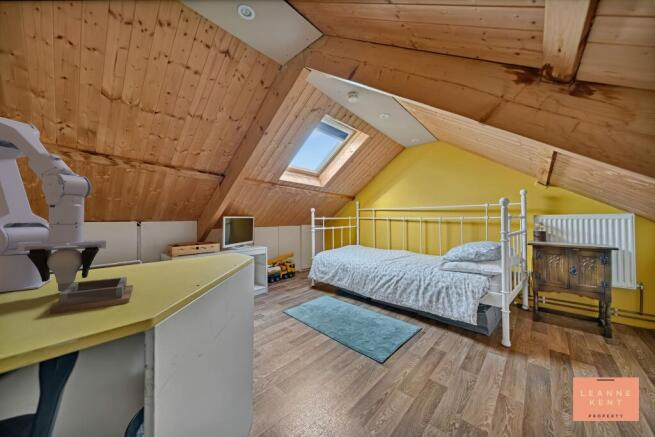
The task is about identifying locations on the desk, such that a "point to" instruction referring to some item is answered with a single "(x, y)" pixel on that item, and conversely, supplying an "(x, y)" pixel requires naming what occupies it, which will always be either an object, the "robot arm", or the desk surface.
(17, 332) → the desk surface
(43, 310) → the desk surface
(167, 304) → the desk surface
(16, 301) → the desk surface
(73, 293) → the socket base
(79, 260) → the lightbulb
